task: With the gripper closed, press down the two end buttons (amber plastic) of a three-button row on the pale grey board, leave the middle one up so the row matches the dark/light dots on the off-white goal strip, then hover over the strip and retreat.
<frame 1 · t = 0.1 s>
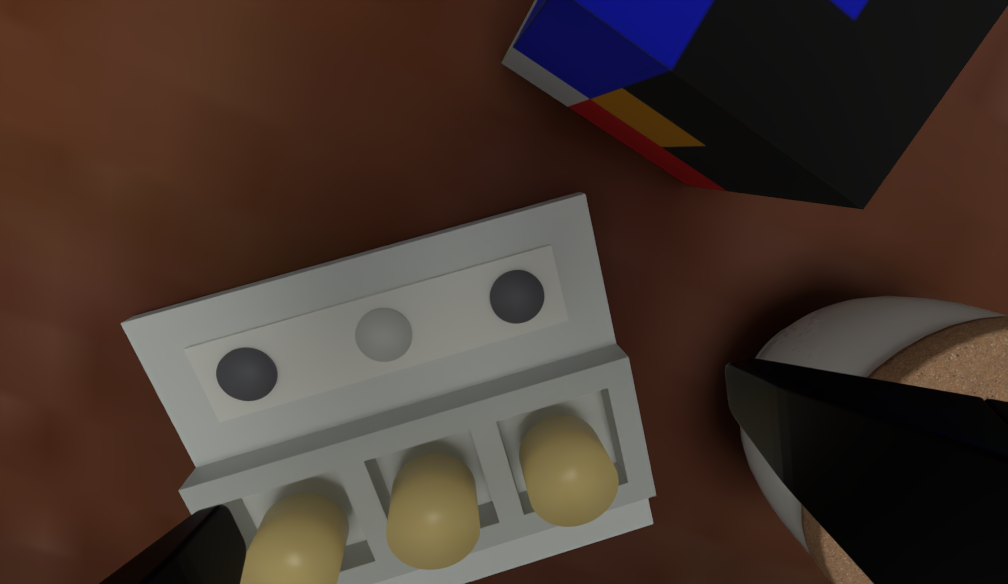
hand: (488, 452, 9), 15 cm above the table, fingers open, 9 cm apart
board: (422, 425, 24), on the table
puzzle toy: (660, 21, 21), on the table
button 2: (297, 551, 21), point 4 cm above the table, slide at 0.0 cm
button mid: (434, 509, 22), point 4 cm above the table, slide at 0.0 cm
button 1: (566, 469, 22), point 4 cm above the table, slide at 0.0 cm
lidded bowl: (804, 379, 27), on the table
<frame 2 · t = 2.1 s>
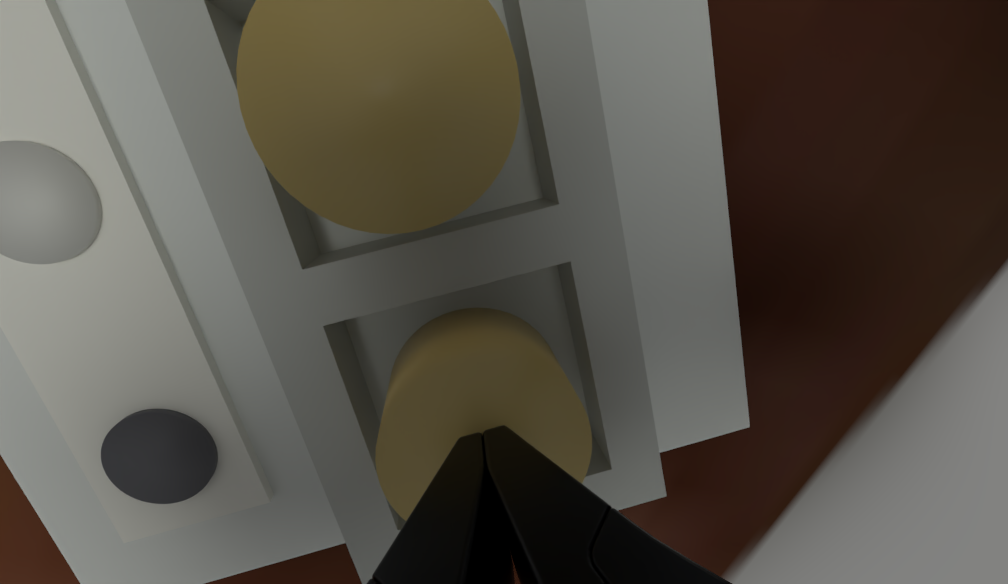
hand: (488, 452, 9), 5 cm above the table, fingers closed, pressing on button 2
board: (321, 140, 12), on the table
button 2: (480, 417, 10), point 4 cm above the table, slide at 0.2 cm, touching gripper
button mid: (392, 105, 8), point 4 cm above the table, slide at 0.0 cm
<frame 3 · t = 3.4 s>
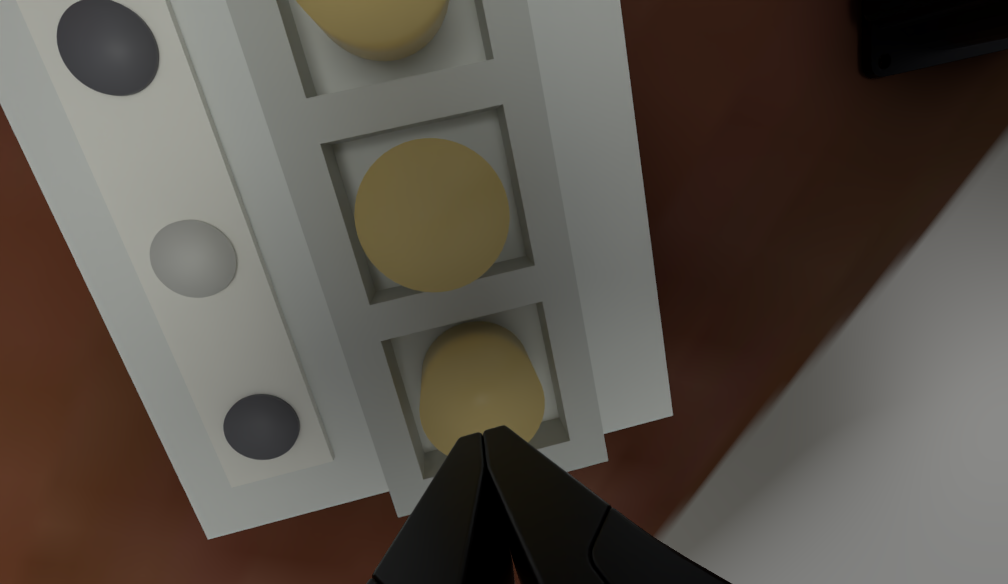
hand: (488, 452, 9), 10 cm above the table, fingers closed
board: (376, 213, 17), on the table
button 2: (479, 389, 16), point 3 cm above the table, slide at 1.0 cm
button mid: (433, 212, 14), point 4 cm above the table, slide at 0.0 cm
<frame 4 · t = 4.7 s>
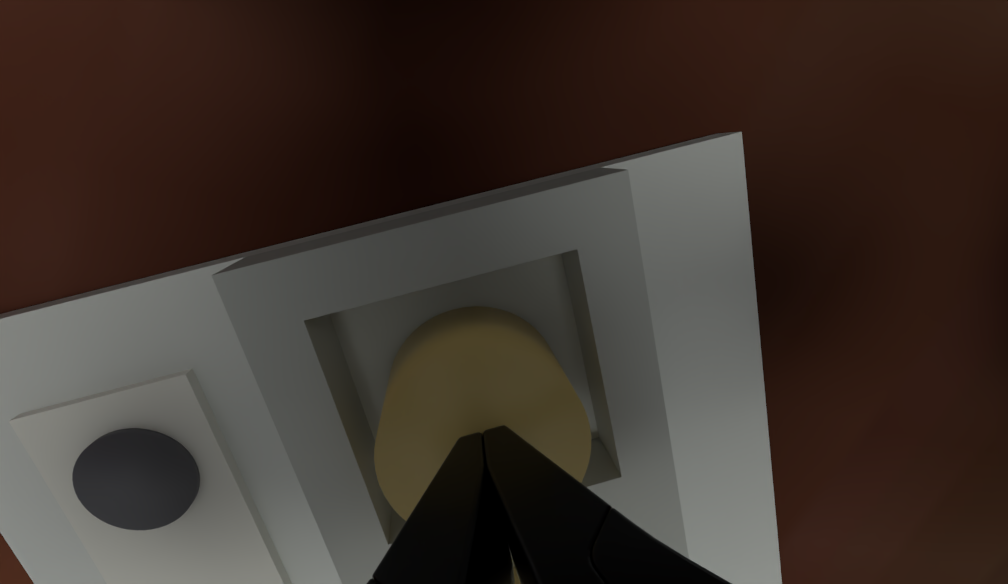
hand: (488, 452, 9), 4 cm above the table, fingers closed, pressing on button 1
board: (455, 569, 14), on the table
button 1: (479, 416, 10), point 3 cm above the table, slide at 1.0 cm, touching gripper
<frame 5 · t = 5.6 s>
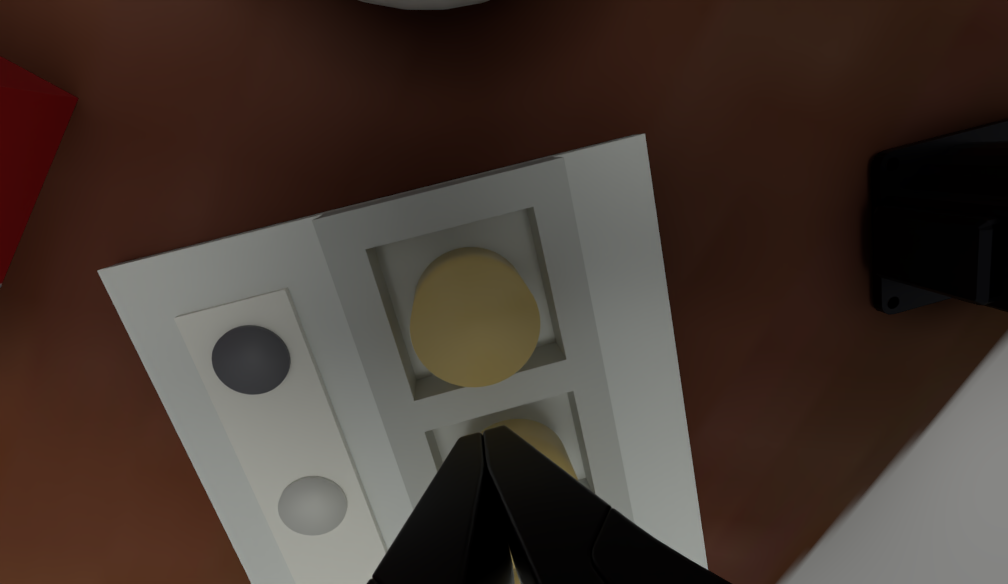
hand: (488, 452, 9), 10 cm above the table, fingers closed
board: (457, 444, 20), on the table
button mid: (520, 490, 16), point 4 cm above the table, slide at 0.0 cm
button 1: (473, 313, 16), point 3 cm above the table, slide at 1.1 cm
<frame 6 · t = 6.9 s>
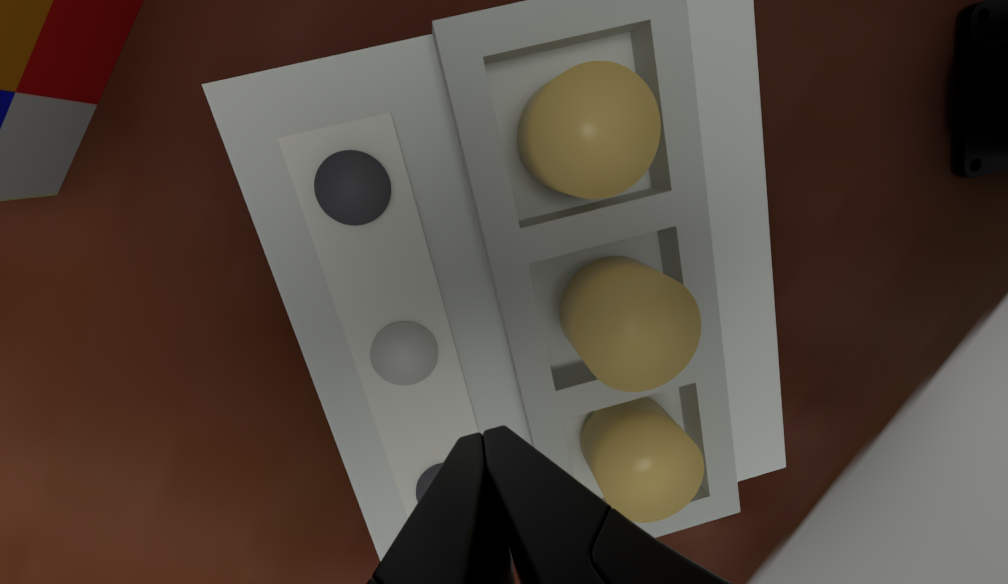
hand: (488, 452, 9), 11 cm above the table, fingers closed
board: (542, 304, 20), on the table
button 2: (639, 456, 19), point 3 cm above the table, slide at 1.0 cm
button mid: (626, 320, 16), point 4 cm above the table, slide at 0.0 cm
button 1: (584, 134, 16), point 3 cm above the table, slide at 1.1 cm
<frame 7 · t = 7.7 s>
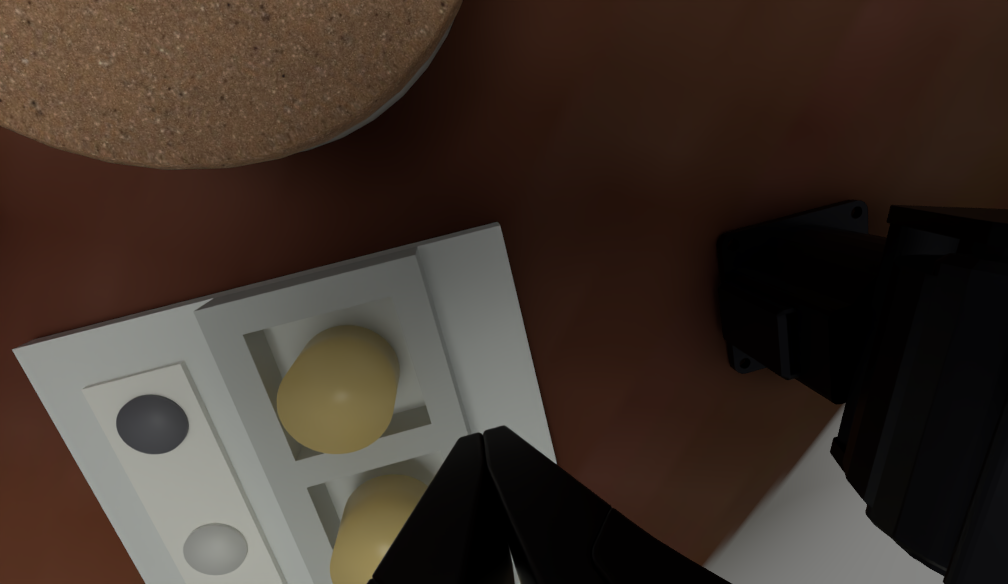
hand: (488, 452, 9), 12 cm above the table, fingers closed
board: (353, 490, 22), on the table
button mid: (389, 539, 19), point 4 cm above the table, slide at 0.0 cm
button 1: (343, 387, 18), point 3 cm above the table, slide at 1.1 cm
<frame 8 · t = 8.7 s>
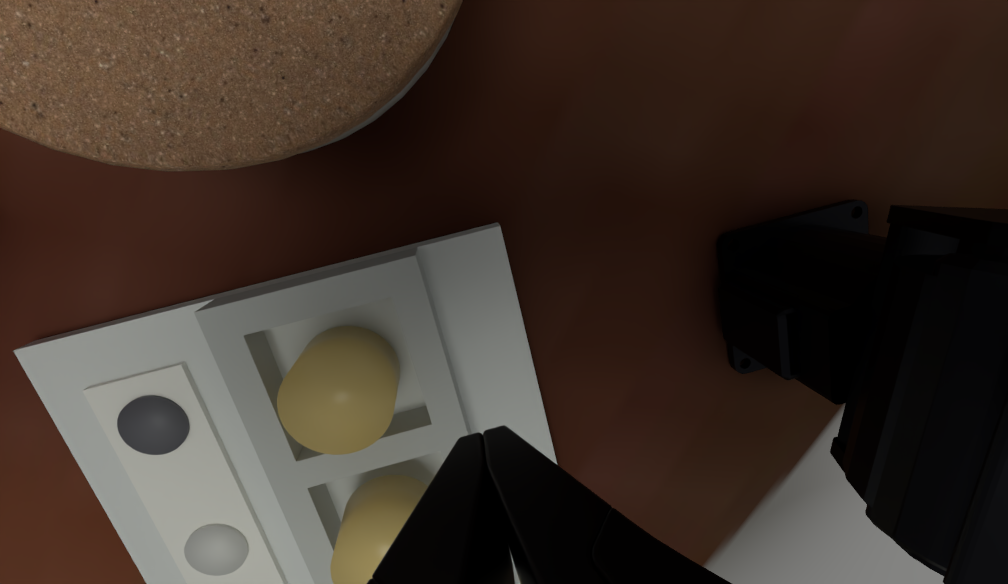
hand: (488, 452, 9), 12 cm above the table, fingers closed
board: (353, 490, 22), on the table
button mid: (390, 540, 19), point 4 cm above the table, slide at 0.0 cm
button 1: (343, 387, 18), point 3 cm above the table, slide at 1.1 cm
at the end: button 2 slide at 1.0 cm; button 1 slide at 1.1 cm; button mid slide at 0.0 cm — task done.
